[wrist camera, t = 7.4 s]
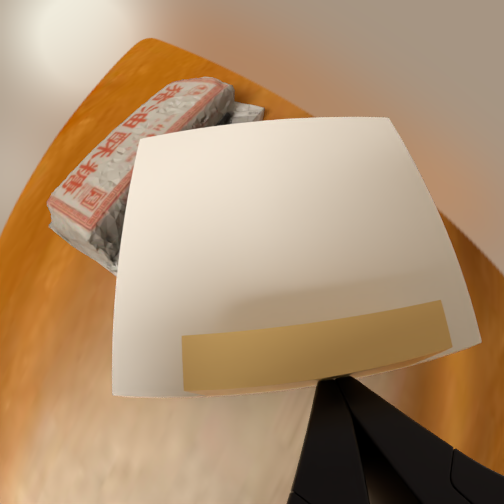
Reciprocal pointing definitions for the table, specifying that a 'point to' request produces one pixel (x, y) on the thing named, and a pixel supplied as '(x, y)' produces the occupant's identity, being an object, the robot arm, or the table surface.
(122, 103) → the table surface
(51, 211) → the packaged product
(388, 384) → the table surface
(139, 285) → the lid
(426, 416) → the table surface
